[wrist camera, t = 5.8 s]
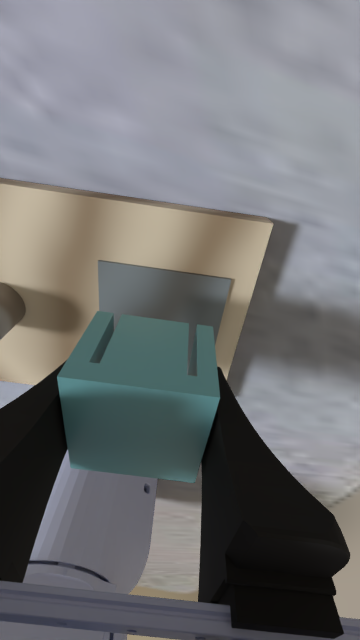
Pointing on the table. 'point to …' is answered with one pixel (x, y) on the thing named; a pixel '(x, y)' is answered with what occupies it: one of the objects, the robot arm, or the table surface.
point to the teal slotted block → (139, 397)
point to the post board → (116, 270)
